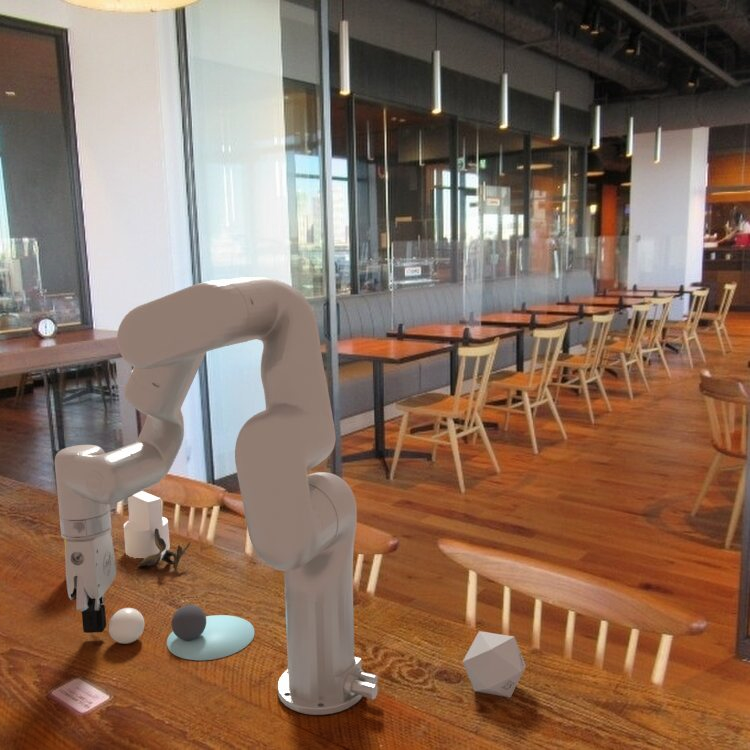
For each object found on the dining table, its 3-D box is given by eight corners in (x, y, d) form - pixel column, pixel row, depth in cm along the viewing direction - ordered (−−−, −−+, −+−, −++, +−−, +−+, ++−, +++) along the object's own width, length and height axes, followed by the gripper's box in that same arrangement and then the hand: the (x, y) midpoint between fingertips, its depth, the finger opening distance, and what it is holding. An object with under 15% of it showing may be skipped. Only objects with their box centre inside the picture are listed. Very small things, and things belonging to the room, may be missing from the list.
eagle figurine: (196, 554, 151) (160, 538, 155) (186, 532, 146) (148, 517, 149) (172, 587, 146) (135, 570, 150) (160, 566, 141) (122, 549, 144)
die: (494, 719, 99) (536, 662, 99) (444, 675, 102) (484, 619, 102) (503, 706, 107) (543, 653, 106) (456, 665, 110) (494, 613, 110)
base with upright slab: (177, 549, 157) (174, 495, 155) (139, 562, 150) (135, 506, 148) (155, 538, 163) (152, 486, 161) (117, 550, 156) (113, 496, 154)
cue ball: (100, 614, 120) (113, 642, 121) (106, 626, 115) (120, 655, 116) (132, 597, 122) (145, 625, 123) (139, 607, 117) (153, 636, 118)
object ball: (173, 639, 121) (206, 641, 121) (166, 639, 116) (201, 641, 116) (177, 604, 123) (210, 606, 123) (170, 603, 118) (205, 604, 118)
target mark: (271, 626, 123) (271, 625, 123) (217, 669, 111) (217, 667, 111) (206, 609, 130) (206, 608, 130) (148, 647, 117) (147, 646, 117)
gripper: (94, 540, 110) (103, 653, 113) (123, 506, 125) (131, 607, 128) (43, 542, 110) (54, 655, 113) (78, 507, 124) (87, 609, 128)
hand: (95, 629), depth 120 cm, fingers closed
